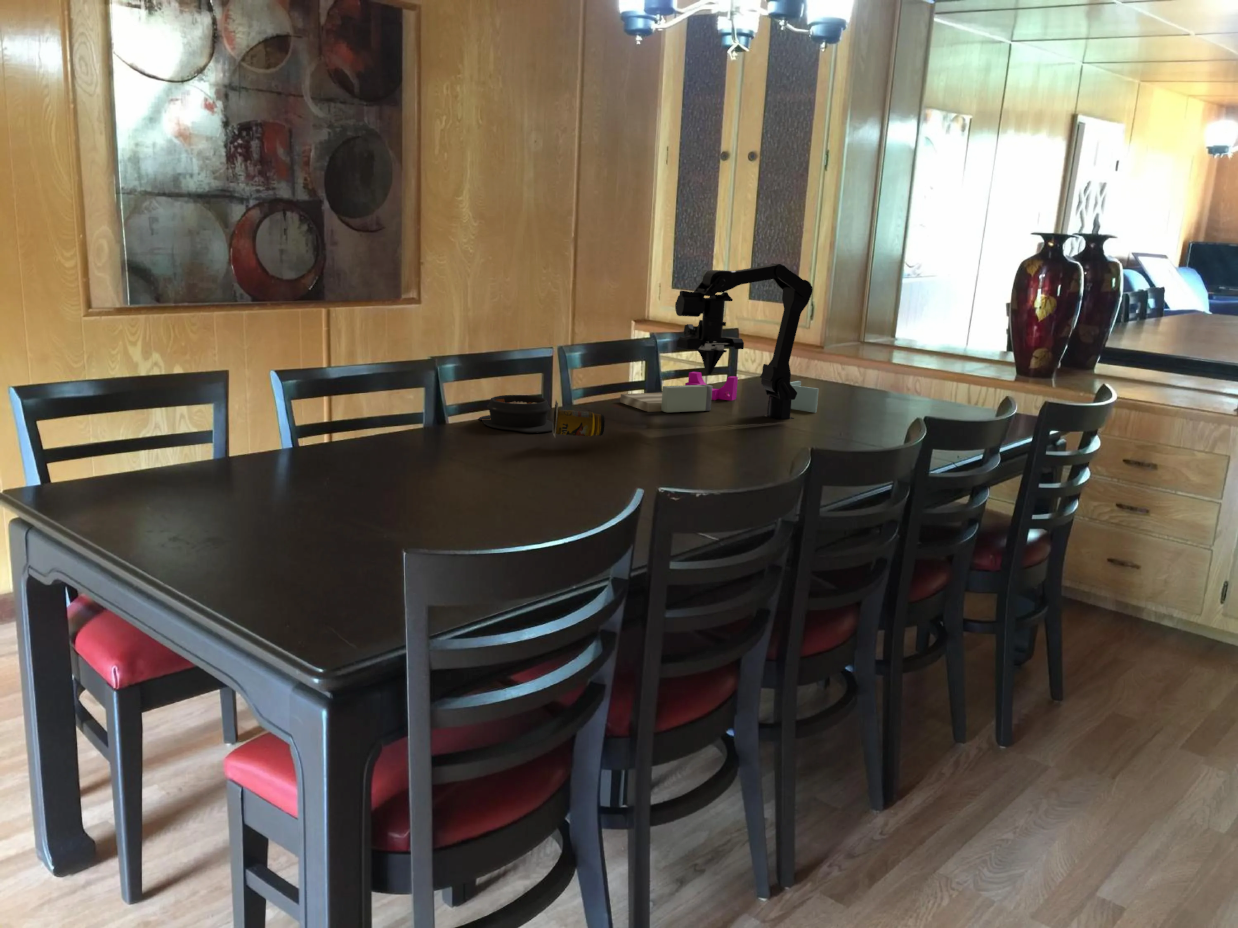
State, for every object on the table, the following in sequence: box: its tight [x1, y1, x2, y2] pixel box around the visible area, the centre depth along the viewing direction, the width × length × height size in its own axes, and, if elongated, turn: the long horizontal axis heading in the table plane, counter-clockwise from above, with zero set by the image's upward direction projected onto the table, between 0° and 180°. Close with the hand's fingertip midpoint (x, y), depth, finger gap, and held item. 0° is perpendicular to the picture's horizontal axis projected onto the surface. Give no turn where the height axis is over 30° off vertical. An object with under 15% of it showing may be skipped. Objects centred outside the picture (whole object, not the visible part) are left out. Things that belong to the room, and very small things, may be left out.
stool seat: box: [619, 392, 662, 413], centre depth 286 cm, size 16×20×2 cm
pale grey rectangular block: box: [660, 384, 713, 413], centre depth 278 cm, size 16×3×7 cm, turn 120°
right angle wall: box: [790, 380, 820, 414], centre depth 295 cm, size 12×12×8 cm
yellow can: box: [552, 400, 606, 438], centre depth 235 cm, size 7×8×12 cm
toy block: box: [684, 371, 739, 401], centre depth 304 cm, size 15×6×8 cm, turn 63°
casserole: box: [478, 394, 553, 434], centre depth 258 cm, size 25×19×8 cm
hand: (708, 374), depth 267 cm, fingers closed
